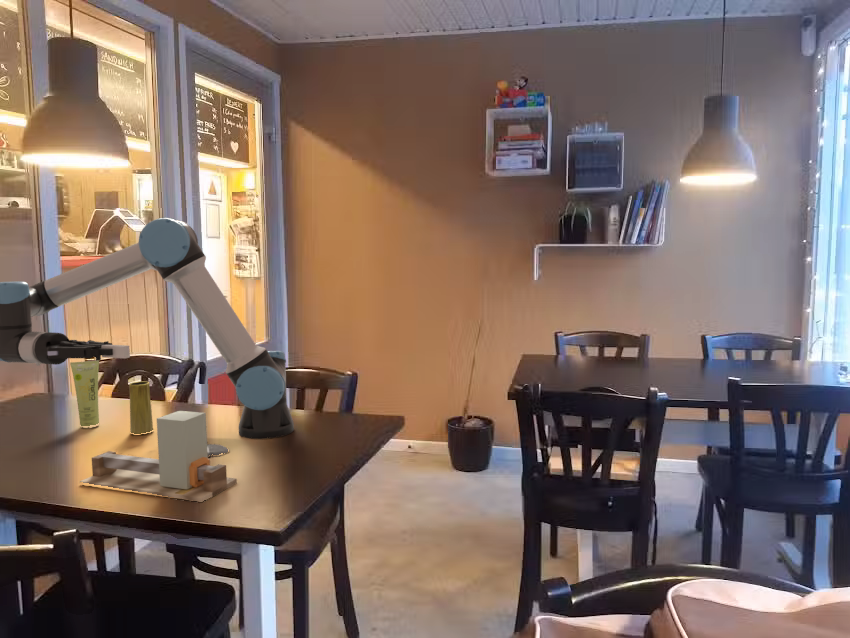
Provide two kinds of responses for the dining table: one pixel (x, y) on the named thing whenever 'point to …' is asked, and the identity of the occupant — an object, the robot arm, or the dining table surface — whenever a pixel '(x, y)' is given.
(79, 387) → the tube
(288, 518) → the dining table surface
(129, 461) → the rod stand
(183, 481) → the sleeve
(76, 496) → the dining table surface
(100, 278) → the robot arm
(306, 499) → the dining table surface
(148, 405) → the vase
